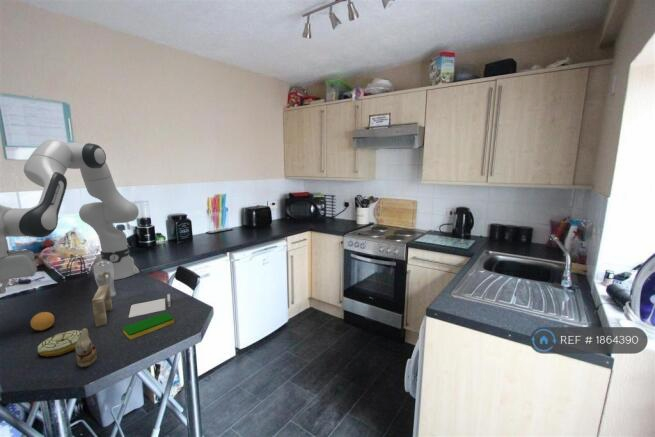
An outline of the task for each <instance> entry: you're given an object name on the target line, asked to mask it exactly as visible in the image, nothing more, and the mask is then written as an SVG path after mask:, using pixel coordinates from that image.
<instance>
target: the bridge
mask: <svg viewBox="0 0 655 437" xmlns="http://www.w3.org/2000/svg"><path fill="white" fill-rule="evenodd" d="M91 304H92V311H93V317H94V323H95V327H100V326H106V325H107V324H108V318H107V312H108V311H112V310H113V303H112V297H111V295H110V288H109V285H105V286H99V288H98V289H97V291H96V292H95V294H94V296H93V298H92V299H91Z"/></svg>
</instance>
